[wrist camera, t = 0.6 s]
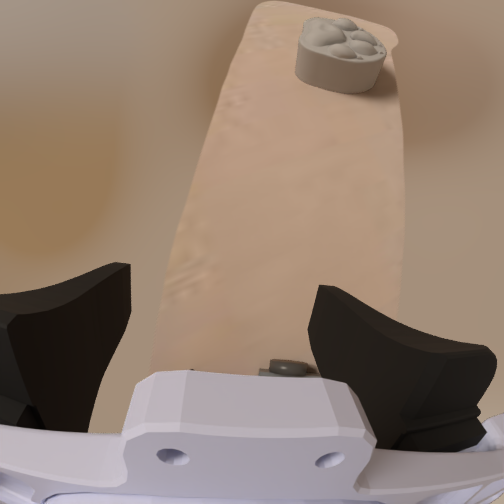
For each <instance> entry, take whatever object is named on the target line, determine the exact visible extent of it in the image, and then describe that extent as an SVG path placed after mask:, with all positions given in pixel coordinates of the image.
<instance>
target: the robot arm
mask: <svg viewBox="0 0 504 504" xmlns="http://www.w3.org/2000/svg"><path fill="white" fill-rule="evenodd" d="M130 270H131V267H130V264H126V263H117V262H114V263H110V264H108V265H105V266H102V267H100V268H97V269H95V270H92V271H90V272H88V273H85V274H83V275H80V276H78V277H75V278H73V279H70V280H67V281H64V282H62V283H59V284H55V285H52V286H48V287H45V288H41V289H36V290H31V291H25V292H20V293H11V294H0V504H490V503H492V502H493V501H495V500H496V499H497V498H499V497H500V496H501V495H502V494H503V493H504V413H501V414H499V415H496V416H493V417H490V418H488V419H486V420H485V421H484V422H482V423H480V421H479V420H478V419H477V417H478V416H479V415H480V414H481V411H480V409H479V408H478V407H477V404H478V402H479V401H480V399H481V398H482V396H483V395H484V393H485V391H486V390H487V388H488V387H489V385H490V383H491V381H492V379H493V377H494V374H495V371H496V368H497V359H496V356H495V355H494V353H493V352H492V351H491V350H490V349H489V348H488V347H486V346H484V345H478V344H470V343H463V342H457V341H453V340H448V339H444V338H440V337H437V336H433V335H430V334H427V333H424V332H421V331H418V330H416V329H413V328H411V327H408V326H406V325H404V324H402V323H399V322H397V321H395V320H393V319H391V318H389V317H387V316H385V315H384V314H382V313H380V312H378V311H376V310H375V309H373V308H371V307H370V306H368V305H366V304H365V303H363V302H361V301H360V300H358V299H357V298H355V297H353V296H352V295H350V294H348V293H347V292H345V291H343V290H341V289H340V288H337V287H335V286H327V285H319V287H318V291H317V295H316V299H315V303H314V307H313V311H312V315H311V318H310V322H309V326H308V335H309V340H310V345H311V350H312V353H313V355H314V358H315V361H316V364H317V367H318V369H319V372H320V375H321V377H322V378H294V377H267V376H249V375H235V374H223V373H212V372H202V371H193V370H179V371H163V372H155V373H154V374H152V375H151V376H149V377H147V378H146V379H144V380H142V381H141V382H139V383H137V384H136V387H135V390H134V393H133V396H132V400H131V403H130V406H129V410H128V413H127V416H126V420H125V423H124V427H123V430H122V433H88V428H89V423H90V419H91V415H92V411H93V407H94V404H95V400H96V397H97V393H98V390H99V387H100V384H101V381H102V378H103V376H104V373H105V371H106V369H107V367H108V365H109V363H110V360H111V358H112V356H113V354H114V352H115V350H116V348H117V346H118V344H119V342H120V340H121V338H122V336H123V334H124V332H125V329H126V327H127V324H128V320H129V317H130V314H131V272H130Z"/></svg>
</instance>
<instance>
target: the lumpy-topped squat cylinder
mask: <svg viewBox="0 0 504 504" xmlns="http://www.w3.org/2000/svg"><path fill="white" fill-rule="evenodd" d="M386 54H387V52H386V49H385V47H384V45H383V44H382V43H381V42H380V41H379V40H378V39H377V38H376V37H375V36H373V35H372V34H370V33H369V32H367V31H365V30H364V29H362V28H360V27H358V26H356V24H355V23H354V22H352V21H351V20H349V19H346V18H339V19H337V20H332V19H327V18H320V17H315V18H310V19H307V20H306V21H305V22H304V24H303V31H302V34H301V36H300V38H299V43H298V51H297V59H296V67H295V74H296V76H297V77H298V78H299V79H300V80H301V81H303V82H304V83H306V84H309V85H312V86H315V87H318V88H322V89H325V90H329V91H333V92H338V93H344V94H352V93H360V92H364V91H367V90H369V89H371V88H372V87H373V86H374V84H375V82H376V79H377V77H378V75H379V72H380V70H381V67H382V65H383V62H384V60H385V57H386Z"/></svg>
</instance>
